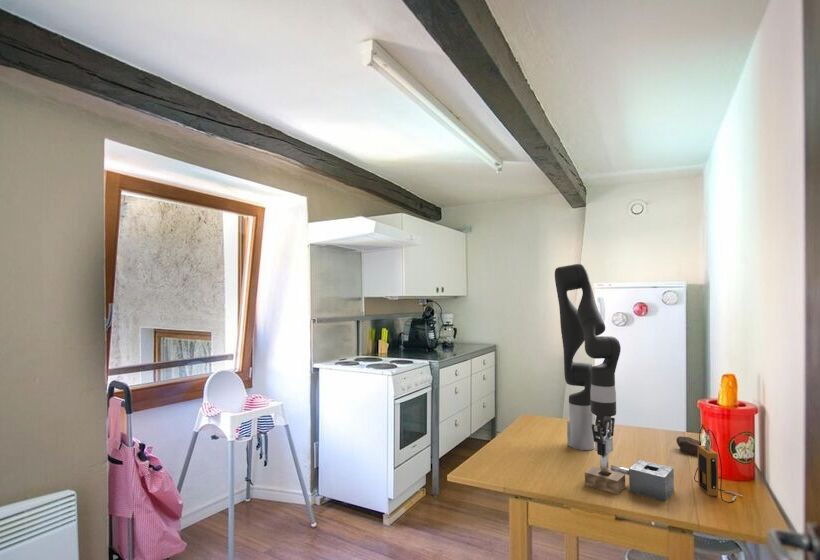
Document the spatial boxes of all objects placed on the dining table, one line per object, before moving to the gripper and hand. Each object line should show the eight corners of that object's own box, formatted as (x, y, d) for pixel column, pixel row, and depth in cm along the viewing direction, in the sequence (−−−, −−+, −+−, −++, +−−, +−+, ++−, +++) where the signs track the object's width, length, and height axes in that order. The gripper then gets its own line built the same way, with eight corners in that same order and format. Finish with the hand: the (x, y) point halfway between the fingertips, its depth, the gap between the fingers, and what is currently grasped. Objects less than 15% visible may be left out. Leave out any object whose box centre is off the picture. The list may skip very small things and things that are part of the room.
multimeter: (752, 504, 131) (751, 435, 132) (714, 502, 133) (713, 433, 134) (726, 483, 146) (725, 420, 146) (692, 481, 148) (691, 419, 148)
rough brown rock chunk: (708, 440, 172) (678, 431, 178) (705, 452, 167) (674, 442, 173) (706, 452, 174) (676, 442, 180) (703, 464, 170) (673, 454, 176)
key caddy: (585, 485, 145) (584, 472, 145) (593, 478, 150) (593, 466, 151) (617, 494, 139) (617, 481, 139) (625, 487, 144) (625, 474, 144)
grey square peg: (608, 479, 141) (608, 440, 142) (595, 476, 144) (595, 438, 145) (613, 476, 144) (612, 437, 145) (600, 473, 147) (599, 435, 148)
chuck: (606, 485, 145) (605, 462, 145) (616, 475, 153) (616, 454, 153) (665, 501, 134) (665, 477, 134) (673, 490, 141) (673, 467, 141)
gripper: (607, 405, 137) (608, 462, 137) (623, 396, 148) (623, 450, 147) (582, 401, 143) (583, 456, 142) (599, 393, 153) (600, 444, 153)
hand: (604, 452), depth 145 cm, fingers closed on grey square peg, 4 cm apart
